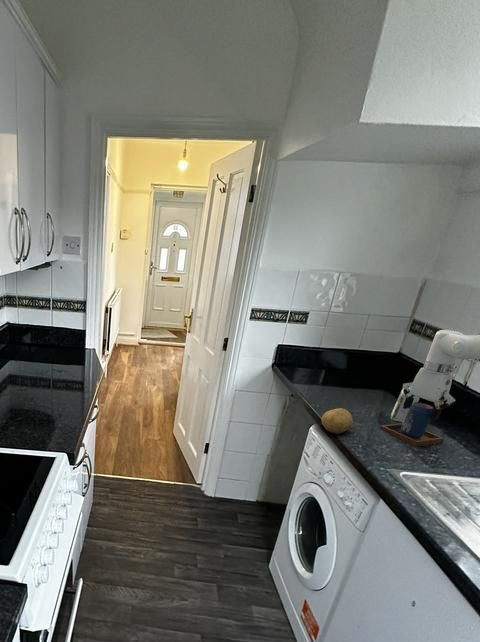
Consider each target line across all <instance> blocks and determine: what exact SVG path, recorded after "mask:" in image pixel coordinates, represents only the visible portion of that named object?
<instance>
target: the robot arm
mask: <svg viewBox="0 0 480 642" xmlns="http://www.w3.org/2000/svg"><path fill="white" fill-rule="evenodd" d="M456 360H480V334H470V335H469V334H464V333H463V332H461V331H457V330H451V329H440V330H437V332H436V333H435V334H434V337H433V340H432V343H431V345H430V348H429V351H428V353H427V356H426V359H425V361H424V364H423V367H421V368H420V369H419V370H418V372H417V373H416V375H415V377H414V379H413V381H411V382H406V383H402V389H404V390H403V392H404V394H405V398H406V399H405V402H404V406H403V408H404V409H408V408H410V406H412V403H413V401H414V398H413V397H414V396H417V397H420V398H419V399H423V400H425V401H429V402H432V403H433V404H434V407H433V411H432V413H431V416H430V419H431V420H438V418H440V416H441V414H442V411H443V409H447V408H448V407H450V406H452V404H454V403H455V402H456V399H455V398H454V397H453V396H452V395H451V394H450V390H451V386H452V381H453V374H452V373H455V372H456V370H457V368H455V367H454V365H455V362H456ZM410 386H411V389H410V390H409V387H410Z"/></svg>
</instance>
